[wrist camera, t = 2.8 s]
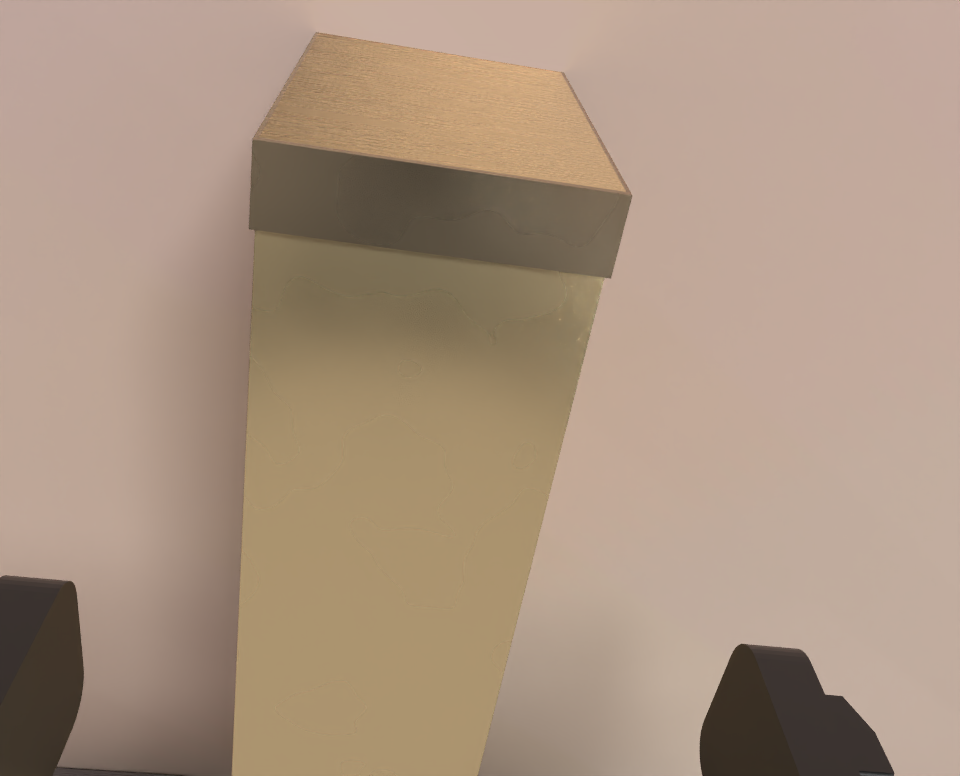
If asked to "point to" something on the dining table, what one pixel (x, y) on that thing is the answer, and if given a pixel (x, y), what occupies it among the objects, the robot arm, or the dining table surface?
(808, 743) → the robot arm
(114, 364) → the dining table surface
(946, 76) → the dining table surface
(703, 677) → the dining table surface
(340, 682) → the block
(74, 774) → the stand
